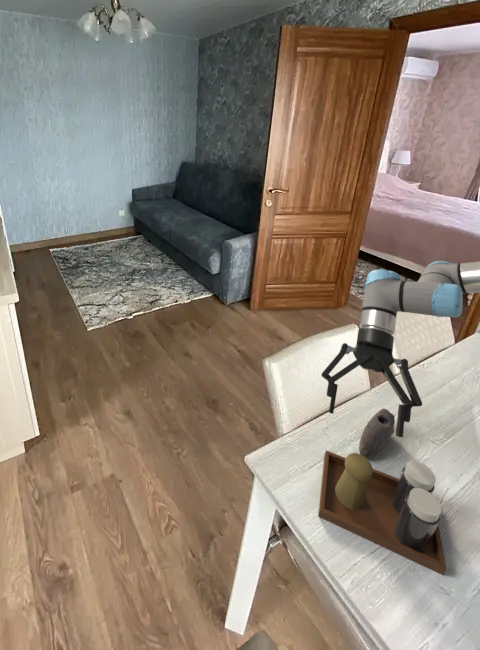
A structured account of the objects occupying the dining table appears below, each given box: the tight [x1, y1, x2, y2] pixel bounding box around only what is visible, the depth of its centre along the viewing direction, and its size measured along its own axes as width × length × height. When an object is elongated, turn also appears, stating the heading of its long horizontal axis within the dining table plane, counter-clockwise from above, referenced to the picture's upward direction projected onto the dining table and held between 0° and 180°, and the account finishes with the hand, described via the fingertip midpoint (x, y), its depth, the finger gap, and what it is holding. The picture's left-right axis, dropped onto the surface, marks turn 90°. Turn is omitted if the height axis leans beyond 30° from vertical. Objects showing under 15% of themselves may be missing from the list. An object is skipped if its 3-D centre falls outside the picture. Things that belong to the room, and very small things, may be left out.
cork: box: [335, 452, 373, 510], centre depth 74 cm, size 6×6×11 cm
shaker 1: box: [392, 460, 437, 513], centre depth 72 cm, size 6×6×11 cm
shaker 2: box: [394, 488, 443, 553], centre depth 67 cm, size 6×6×11 cm
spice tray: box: [317, 450, 447, 576], centre depth 73 cm, size 22×15×3 cm
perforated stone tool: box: [358, 408, 396, 458], centre depth 87 cm, size 15×5×7 cm, turn 128°
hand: (363, 424), depth 77 cm, fingers open, 13 cm apart
